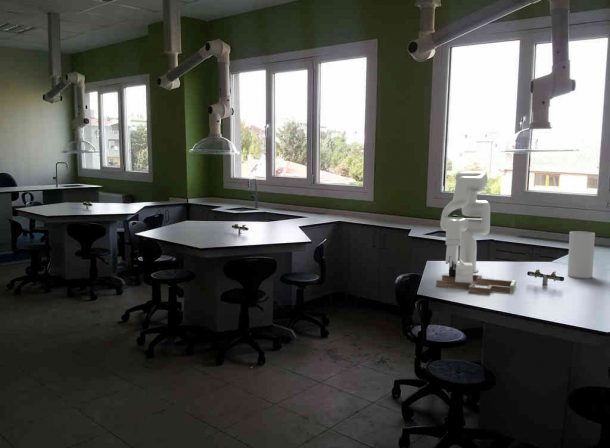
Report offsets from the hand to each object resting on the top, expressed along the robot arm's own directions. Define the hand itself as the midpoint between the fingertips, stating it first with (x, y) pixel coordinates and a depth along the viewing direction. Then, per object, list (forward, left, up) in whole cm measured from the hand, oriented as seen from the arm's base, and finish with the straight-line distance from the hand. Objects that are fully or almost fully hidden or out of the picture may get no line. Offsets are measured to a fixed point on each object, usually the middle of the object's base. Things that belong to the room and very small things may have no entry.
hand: (452, 276), depth 278 cm
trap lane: (0, +11, -4) cm, 12 cm away
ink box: (0, +6, -5) cm, 8 cm away
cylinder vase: (-51, +61, -5) cm, 80 cm away
